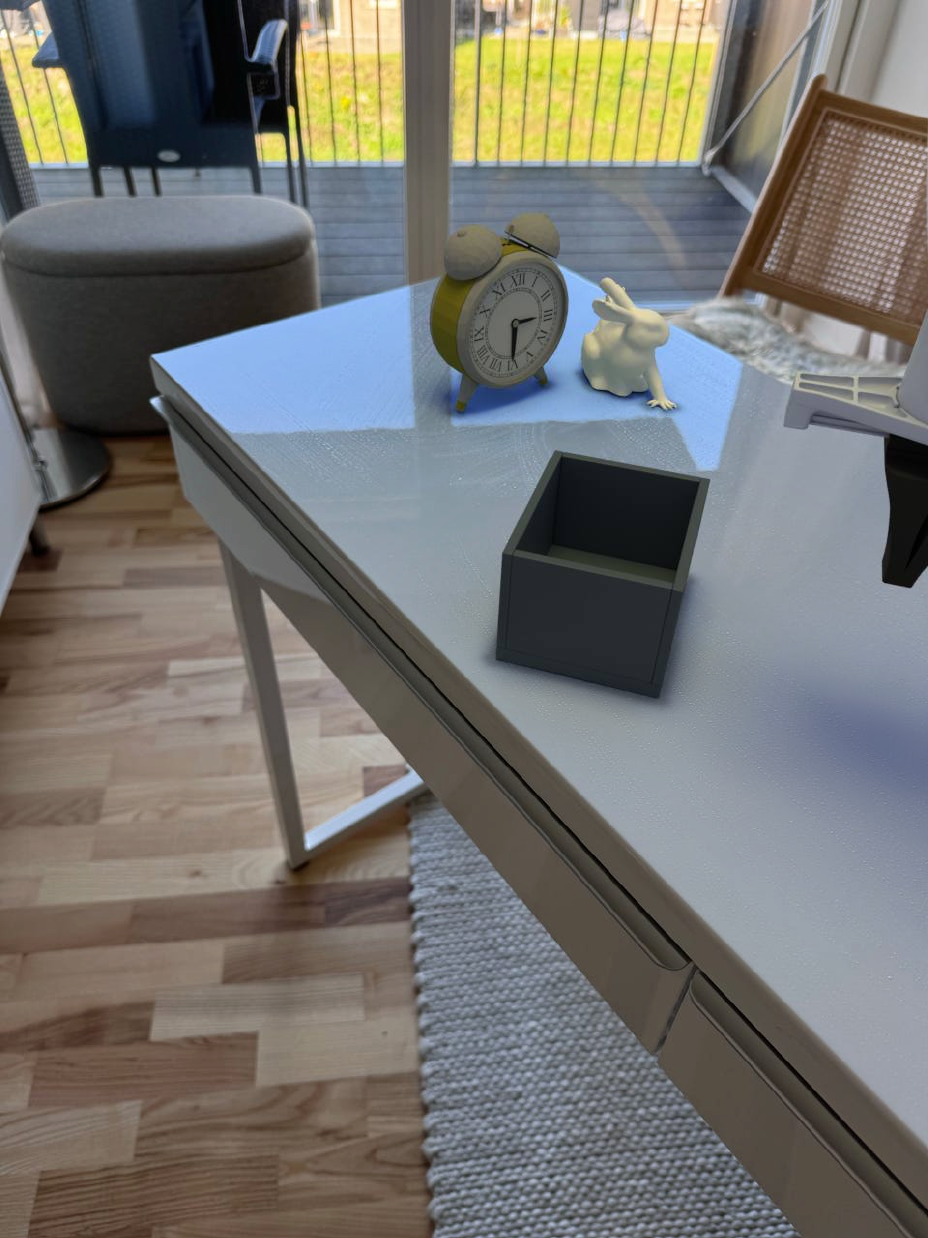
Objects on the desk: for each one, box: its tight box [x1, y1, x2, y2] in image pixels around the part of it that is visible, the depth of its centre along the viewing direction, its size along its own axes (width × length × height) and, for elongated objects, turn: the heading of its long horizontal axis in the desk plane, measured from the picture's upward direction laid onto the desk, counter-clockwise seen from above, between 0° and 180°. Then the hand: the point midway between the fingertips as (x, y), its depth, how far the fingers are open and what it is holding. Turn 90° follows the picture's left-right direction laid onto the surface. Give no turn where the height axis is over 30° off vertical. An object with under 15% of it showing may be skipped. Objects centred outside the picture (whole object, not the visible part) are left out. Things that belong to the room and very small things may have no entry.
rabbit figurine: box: [580, 277, 677, 411], centre depth 81 cm, size 12×8×10 cm, turn 18°
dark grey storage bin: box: [495, 449, 711, 699], centre depth 56 cm, size 8×12×10 cm
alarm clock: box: [429, 211, 570, 413], centre depth 78 cm, size 12×7×15 cm, turn 126°
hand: (896, 574), depth 46 cm, fingers closed
